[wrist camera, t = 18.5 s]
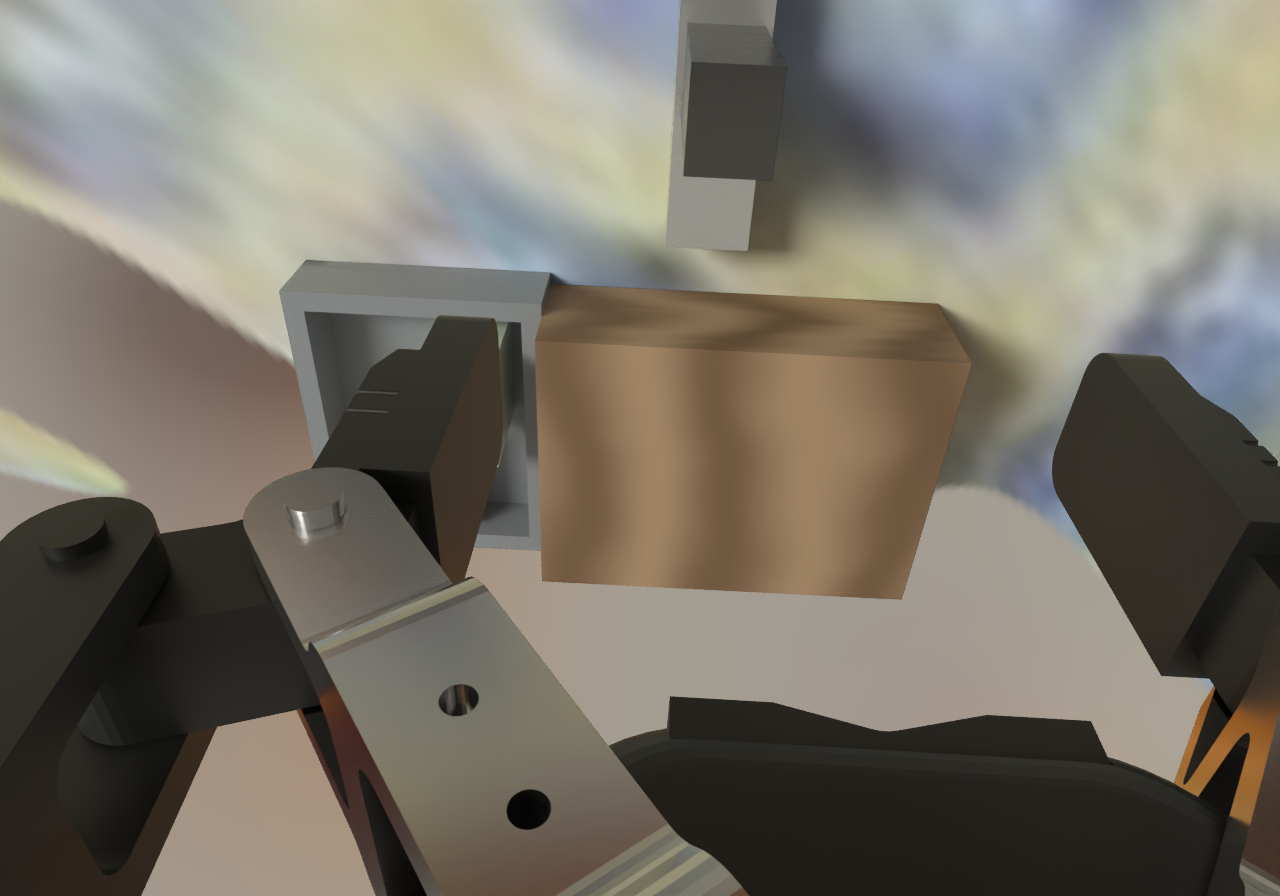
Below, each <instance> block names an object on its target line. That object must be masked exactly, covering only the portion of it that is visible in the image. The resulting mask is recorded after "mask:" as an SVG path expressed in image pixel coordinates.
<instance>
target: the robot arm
mask: <svg viewBox="0 0 1280 896" xmlns="http://www.w3.org/2000/svg"><path fill="white" fill-rule="evenodd" d="M347 408H348V410H347V412H344V414H343V416H342V417H341V419H340V421H339V423H338V424H337V426H336V428H335V429H334V431H333V433H332V434H331V436H330V438H329V439H328V441H327V443H326V445H325V446H324V448H323V450H322V451H321V453H320V455H319V456H318V458H317V460H316V461H315V463H314V465H313V467H312V468H311V469H309V470H304V471H300V472H296V473H294V474H290V475H288V476H285V477H283V478H280V479H278V480H277V481H274V482H272V483H271V484H269V485H268V486H266V487H265V488H263V489H262V490H261V491H260V492H258V493H257V494H256V495H255V496H254V497H253V499H252V500H251V501H250V502H249V504H248V506H247V507H246V509H245V513H244V516H243V520H239V521H236V522H231V523H226V524H221V525H214V526H208V527H201V528H195V529H188V530H182V531H175V532H169V533H162V534H160V532H159V529H158V526H157V524H156V521H155V518H154V516H153V513H152V512H151V511H150V510H149V509H148V508H147V507H146V506H144V505H143V504H141V503H139V502H136V501H133V500H130V499H125V498H118V497H96V498H88V499H82V500H77V501H73V502H69V503H66V504H62V505H59V506H56V507H53V508H51V509H48V510H46V511H43V512H41V513H39V514H37V515H35V516H33V517H31V518H29V519H28V520H26V521H25V522H23V523H21V524H20V525H18V526H17V527H16V528H14V529H13V530H12V531H11V532H9V533H8V534H7V535H6V536H5V537H4V538H3V539H2V540H1V541H0V896H141V895H142V892H143V890H144V888H145V886H146V883H147V881H148V879H149V877H150V875H151V872H152V870H153V868H154V866H155V863H156V861H157V859H158V857H159V854H160V852H161V850H162V848H163V846H164V843H165V841H166V839H167V837H168V835H169V832H170V830H171V828H172V826H173V824H174V821H175V819H176V817H177V815H178V812H179V810H180V808H181V806H182V803H183V801H184V799H185V797H186V795H187V792H188V790H189V788H190V786H191V784H192V781H193V779H194V777H195V775H196V772H197V770H198V768H199V766H200V763H201V761H202V759H203V757H204V755H205V752H206V750H207V748H208V746H209V744H210V741H211V739H212V737H213V735H214V732H215V730H216V728H217V727H218V726H223V725H227V724H232V723H237V722H242V721H246V720H251V719H256V718H260V717H265V716H270V715H274V714H279V713H284V712H288V711H293V710H297V712H298V715H299V717H300V719H301V721H302V723H303V726H304V728H305V730H306V732H307V735H308V737H309V739H310V741H311V743H312V746H313V748H314V749H315V752H316V754H317V756H318V759H319V761H320V763H321V765H322V767H323V770H324V772H325V774H326V776H327V778H328V781H329V783H330V785H331V787H332V789H333V792H334V794H335V796H336V798H337V800H338V802H339V805H340V807H341V809H342V811H343V814H344V816H345V818H346V820H347V822H348V824H349V827H350V829H351V831H352V834H353V836H354V838H355V841H356V843H357V846H358V848H359V851H360V854H361V856H362V860H363V862H364V865H365V868H366V871H367V874H368V877H369V880H370V882H371V885H372V887H373V890H374V893H375V895H376V896H1280V466H1278V465H1277V463H1278V461H1277V460H1276V459H1275V458H1274V457H1273V456H1272V455H1271V454H1270V452H1269V451H1268V450H1267V449H1266V448H1265V447H1264V446H1258V442H1259V441H1258V440H1257V439H1256V438H1255V437H1254V436H1253V435H1252V434H1251V433H1250V432H1249V431H1248V430H1247V429H1246V428H1245V427H1244V425H1243V424H1242V423H1241V422H1240V421H1239V420H1238V419H1237V418H1236V417H1235V416H1233V415H1231V414H1230V413H1228V412H1227V411H1225V410H1223V409H1222V408H1220V407H1218V406H1217V405H1215V404H1213V403H1212V402H1210V401H1209V400H1207V399H1205V398H1204V397H1202V396H1200V395H1199V394H1198V393H1197V392H1196V390H1195V389H1194V388H1193V387H1192V386H1191V385H1190V384H1189V383H1188V382H1187V381H1186V380H1185V379H1184V378H1183V377H1182V376H1181V374H1180V373H1179V372H1178V371H1177V370H1176V369H1175V368H1174V367H1173V366H1172V365H1171V364H1170V363H1169V362H1168V361H1167V360H1166V359H1165V358H1163V357H1161V356H1151V355H1133V354H1115V353H1100V354H1098V355H1096V356H1095V357H1094V358H1093V359H1092V360H1091V362H1090V363H1089V365H1088V366H1087V369H1086V371H1085V373H1084V376H1083V378H1082V381H1081V384H1080V386H1079V389H1078V391H1077V394H1076V397H1075V399H1074V402H1073V404H1072V407H1071V410H1070V412H1069V415H1068V417H1067V420H1066V423H1065V425H1064V428H1063V430H1062V433H1061V436H1060V438H1059V441H1058V443H1057V446H1056V449H1055V452H1054V457H1053V464H1052V477H1053V484H1054V488H1055V491H1056V493H1057V495H1058V497H1059V499H1060V501H1061V502H1062V504H1063V506H1064V508H1065V509H1066V511H1067V513H1068V515H1069V516H1070V518H1071V520H1072V522H1073V523H1074V525H1075V527H1076V529H1077V530H1078V532H1079V534H1080V535H1081V537H1082V539H1083V541H1084V542H1085V544H1086V546H1087V548H1088V549H1089V551H1090V553H1091V555H1092V556H1093V558H1094V560H1095V562H1096V563H1097V565H1098V567H1099V568H1100V570H1101V572H1102V574H1103V575H1104V577H1105V579H1106V581H1107V582H1108V584H1109V586H1110V588H1111V589H1112V591H1113V593H1114V595H1115V596H1116V598H1117V600H1118V601H1119V603H1120V605H1121V607H1122V608H1123V610H1124V612H1125V614H1126V615H1127V617H1128V618H1129V620H1130V622H1131V624H1132V626H1133V627H1134V629H1135V631H1136V633H1137V634H1138V636H1139V638H1140V640H1141V641H1142V643H1143V645H1144V647H1145V648H1146V650H1147V652H1148V654H1149V655H1150V657H1151V659H1152V660H1153V662H1154V664H1155V666H1156V667H1157V669H1158V671H1159V672H1160V674H1161V676H1175V677H1191V678H1208V679H1210V680H1211V682H1212V683H1213V685H1214V687H1213V688H1212V690H1211V691H1210V693H1209V695H1208V696H1207V698H1206V700H1205V701H1204V703H1203V704H1202V706H1201V708H1200V710H1199V714H1198V716H1197V719H1196V722H1195V725H1194V727H1193V730H1192V733H1191V736H1190V739H1189V742H1188V744H1187V747H1186V750H1185V753H1184V755H1183V758H1182V761H1181V764H1180V767H1179V770H1178V773H1177V775H1176V778H1175V781H1174V783H1172V782H1170V781H1168V780H1166V779H1163V778H1161V777H1159V776H1157V775H1155V774H1153V773H1151V772H1148V771H1146V770H1144V769H1141V768H1138V767H1136V766H1133V765H1130V764H1128V763H1124V762H1122V761H1119V760H1116V759H1113V758H1109V757H1107V755H1106V753H1105V750H1104V748H1103V746H1102V744H1101V742H1100V740H1099V738H1098V735H1097V734H1096V731H1095V729H1094V727H1093V725H1092V723H1091V721H1080V720H1063V719H1045V718H1028V717H1011V716H995V715H994V716H993V715H985V716H979V717H973V718H968V719H962V720H956V721H950V722H945V723H939V724H934V725H927V726H922V727H916V728H910V729H905V730H899V731H891V732H887V731H877V730H873V729H869V728H866V727H862V726H858V725H854V724H850V723H847V722H843V721H840V720H836V719H832V718H829V717H824V716H821V715H818V714H814V713H810V712H806V711H803V710H799V709H795V708H791V707H788V706H784V705H780V704H777V703H773V702H756V701H738V700H722V699H704V698H688V697H671V696H670V701H669V712H668V722H667V729H662V730H656V731H651V732H646V733H643V734H640V735H636V736H633V737H630V738H626V739H624V740H621V741H619V742H617V743H614V744H612V745H610V746H608V745H607V743H606V742H605V741H604V740H603V738H602V737H601V736H600V734H599V733H598V732H597V730H596V729H595V728H594V727H593V725H592V724H591V723H590V722H589V720H588V719H587V718H586V716H585V715H584V714H583V712H582V711H581V710H580V708H579V707H578V706H577V705H576V703H575V702H574V701H573V699H572V698H571V697H570V695H569V694H568V693H567V691H566V690H565V689H564V688H563V686H562V685H561V684H560V682H559V681H558V680H557V678H556V677H555V676H554V675H553V673H552V672H551V671H550V669H549V668H548V667H547V665H546V664H545V663H544V662H543V660H542V659H541V658H540V657H539V655H538V654H537V652H536V651H535V650H534V649H533V647H532V646H531V645H530V643H529V642H528V641H527V639H526V638H525V637H524V636H523V634H522V633H521V632H520V631H519V629H518V628H517V627H516V625H515V624H514V623H513V621H512V620H511V619H510V617H509V616H508V615H507V614H506V612H505V611H504V610H503V608H502V607H501V606H500V604H499V603H498V602H497V600H496V599H495V598H494V597H493V595H492V594H491V593H490V592H489V590H488V589H487V588H486V587H485V585H484V584H482V582H480V581H479V580H478V579H476V578H474V577H468V578H465V575H466V572H467V568H468V565H469V561H470V558H471V554H472V551H473V548H474V545H475V541H476V538H477V534H478V531H479V528H480V524H481V521H482V517H483V514H484V511H485V507H486V504H487V500H488V497H489V494H490V490H491V487H492V483H493V480H494V477H495V473H496V470H497V466H498V463H499V459H500V454H501V447H502V438H503V408H502V391H501V374H500V357H499V340H498V329H497V324H496V321H495V319H494V318H486V317H467V316H449V315H439V316H438V317H437V318H436V320H435V322H434V324H433V326H432V328H431V330H430V332H429V334H428V336H427V338H426V339H425V341H424V343H423V345H422V347H421V349H420V350H415V349H397V350H395V351H394V352H393V353H391V354H390V355H388V356H387V357H385V358H384V359H382V360H381V361H379V362H378V363H376V364H375V365H374V366H372V367H371V368H370V370H369V372H368V373H367V375H366V377H365V379H364V380H363V382H362V384H361V385H360V387H359V389H358V394H355V395H354V397H353V399H352V401H351V402H350V404H349V406H348V407H347ZM464 578H465V579H464Z"/></svg>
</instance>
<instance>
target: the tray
mask: <svg viewBox="0 0 1280 896" xmlns="http://www.w3.org/2000/svg"><path fill="white" fill-rule="evenodd" d="M549 287H550V273H548V272H528V271H509V270H489V269H470V268H450V267H431V266H411V265H392V264H372V263H353V262H333V261H314V260H306V261H305V262H304V263H303V264H302V265H301V267H300V268H299V269H298V270H297V271H296V272H295V273H294V275H293V276H292V277H291V278H290V279H289V280H288V281H287V283H286V284H285V285H284V286H283V287H282V288H281V289H280V291H279V293H280V298H281V303H282V307H283V312H284V317H285V322H286V326H287V331H288V336H289V340H290V345H291V350H292V355H293V359H294V364H295V369H296V373H297V378H298V382H299V388H300V392H301V397H302V402H303V407H304V411H305V416H306V420H307V425H308V430H309V435H310V440H311V444H312V449H313V453H314V458H315V461H316V460H317V458H318V456H319V455H320V453H321V451H322V450H323V448H324V446H325V445H326V443H327V441H328V439H329V438H330V436H331V434H332V433H333V431H334V429H335V428H336V426H337V424H338V423H339V421H340V419H341V417H342V416H343V414H344V412H347V410H348V408H347V407H348V406H349V404H350V402H351V401H352V399H353V397H354V395H355V394H358V389H359V387H360V385H361V384H362V382H363V380H364V379H365V377H366V375H367V373H368V372H369V370H370V368H371V367H372V366H374V365H375V364H376V363H378V362H379V361H381V360H382V359H384V358H385V357H387V356H388V355H390V354H391V353H393V352H394V351H395V350H397V349H415V350H420V349H421V347H422V345H423V343H424V341H425V339H426V338H427V336H428V334H429V332H430V330H431V328H432V326H433V324H434V322H435V320H436V318H437V317H438V316H439V315H449V316H467V317H486V318H494V319H495V321H503V322H511V336H512V357H513V379H514V400H515V409H514V412H513V416H512V420H511V423H510V427H509V430H508V434H507V438H506V441H505V445H504V448H503V452H502V456H501V459H500V463H499V467H497V470H496V473H495V477H494V480H493V483H492V487H491V490H490V494H489V497H488V500H487V504H486V507H485V511H484V514H483V517H482V521H481V524H480V528H479V531H478V534H477V538H476V541H475V545H474V547H477V548H497V549H516V550H537V551H541V528H540V495H539V463H538V430H537V397H536V365H535V338H536V335H537V331H538V327H539V324H540V320H541V316H542V313H543V309H544V305H545V302H546V298H547V294H548V291H549Z"/></svg>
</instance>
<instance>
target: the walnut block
mask: <svg viewBox="0 0 1280 896" xmlns="http://www.w3.org/2000/svg"><path fill="white" fill-rule="evenodd" d="M535 365H536V397H537V430H538V463H539V495H540V528H541V559H542V560H541V561H542V581H548V582H569V583H588V584H607V585H626V586H646V587H665V588H685V589H704V590H724V591H744V592H762V593H782V594H783V593H784V594H801V595H821V596H840V597H860V598H879V599H900V600H902V597H903V594H904V590H905V587H906V583H907V580H908V577H909V574H910V570H911V567H912V563H913V560H914V557H915V553H916V550H917V547H918V543H919V539H920V537H921V533H922V530H923V526H924V523H925V520H926V516H927V513H928V510H929V506H930V503H931V500H932V496H933V493H934V490H935V486H936V483H937V479H938V476H939V473H940V469H941V466H942V463H943V459H944V456H945V453H946V449H947V446H948V443H949V439H950V436H951V432H952V429H953V426H954V422H955V419H956V416H957V412H958V409H959V406H960V402H961V399H962V395H963V392H964V389H965V385H966V382H967V379H968V375H969V372H970V369H971V365H972V362H971V361H970V359H969V357H968V355H967V354H966V352H965V350H964V349H963V347H962V345H961V343H960V342H959V340H958V338H957V336H956V335H955V333H954V331H953V330H952V328H951V326H950V324H949V323H948V321H947V319H946V317H945V316H944V314H943V312H942V310H941V309H940V307H939V305H938V304H932V303H912V302H893V301H873V300H854V299H834V298H815V297H795V296H776V295H756V294H737V293H717V292H698V291H678V290H659V289H639V288H620V287H600V286H581V285H561V284H550V287H549V291H548V294H547V298H546V302H545V305H544V309H543V313H542V316H541V320H540V324H539V327H538V331H537V335H536V338H535Z"/></svg>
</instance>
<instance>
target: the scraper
mask: <svg viewBox="0 0 1280 896" xmlns="http://www.w3.org/2000/svg"><path fill="white" fill-rule="evenodd" d="M776 5H777V0H679V11H678V28H677V45H676V61H675V78H674V95H673V112H672V129H671V145H670V162H669V179H668V196H667V213H666V247H676V248H696V249H716V250H737V251H748V243H749V235H750V226H751V218H752V209H753V201H754V192H755V184H756V180H764V181H772V179H773V171H774V163H775V156H776V148H777V140H778V132H779V124H780V117H781V109H782V101H783V93H784V85H785V78H786V70H787V66H786V64H785V62H784V60H783V58H782V56H781V54H780V52H779V50H778V48H777V46H776V45H775V43H774V41H773V30H774V22H775V13H776Z"/></svg>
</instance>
